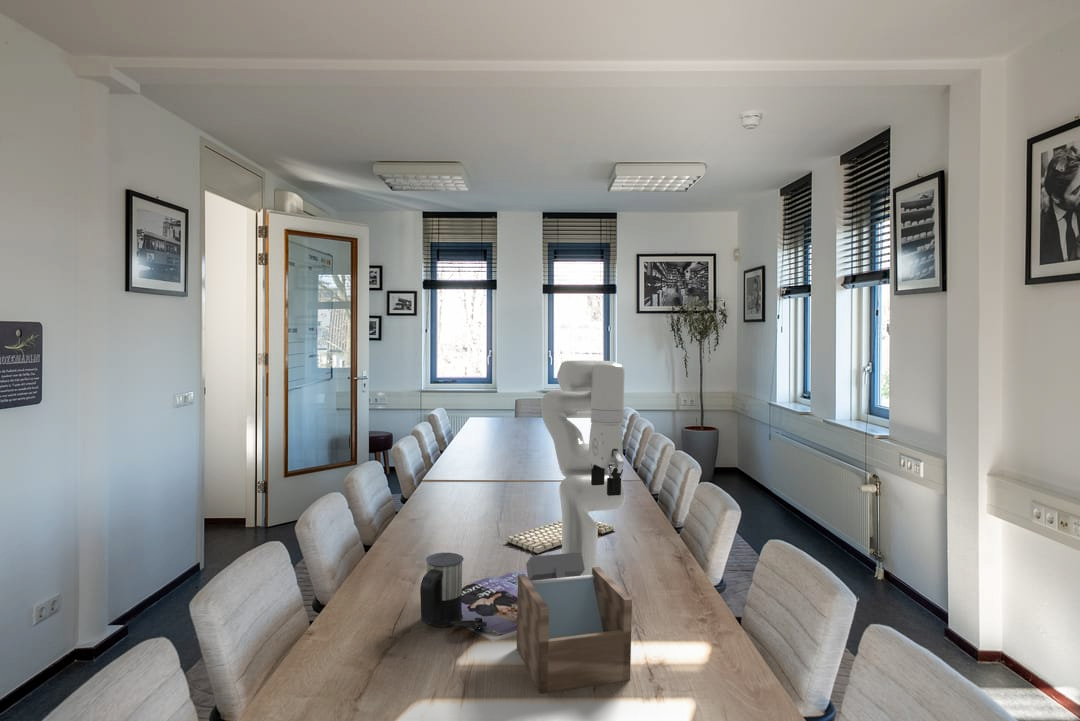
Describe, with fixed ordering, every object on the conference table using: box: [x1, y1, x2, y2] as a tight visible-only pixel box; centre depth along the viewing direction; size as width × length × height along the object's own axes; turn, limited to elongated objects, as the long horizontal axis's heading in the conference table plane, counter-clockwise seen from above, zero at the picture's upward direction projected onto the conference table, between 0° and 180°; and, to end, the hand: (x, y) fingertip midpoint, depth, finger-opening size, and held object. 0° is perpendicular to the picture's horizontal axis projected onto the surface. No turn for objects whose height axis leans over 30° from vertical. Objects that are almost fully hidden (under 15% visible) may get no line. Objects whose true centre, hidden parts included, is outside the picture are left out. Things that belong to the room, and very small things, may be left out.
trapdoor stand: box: [516, 566, 633, 694], centre depth 132 cm, size 18×19×16 cm
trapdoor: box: [525, 552, 603, 639], centre depth 138 cm, size 20×15×6 cm
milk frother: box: [419, 552, 488, 630], centre depth 149 cm, size 14×16×15 cm
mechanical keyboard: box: [505, 520, 616, 555], centre depth 214 cm, size 38×19×3 cm, turn 137°
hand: (605, 489), depth 146 cm, fingers open, 9 cm apart
